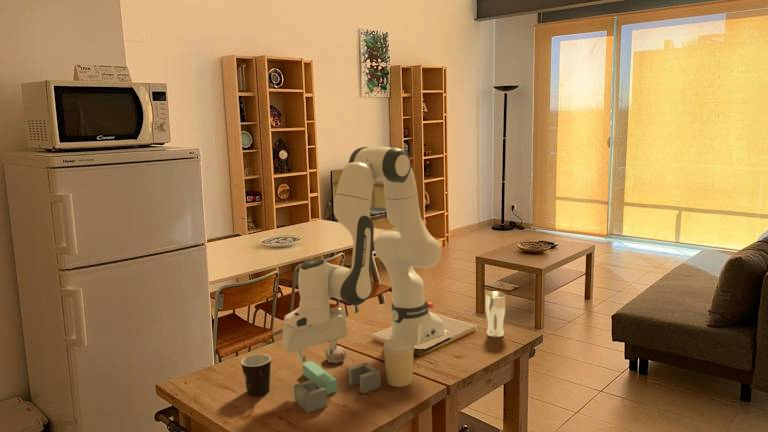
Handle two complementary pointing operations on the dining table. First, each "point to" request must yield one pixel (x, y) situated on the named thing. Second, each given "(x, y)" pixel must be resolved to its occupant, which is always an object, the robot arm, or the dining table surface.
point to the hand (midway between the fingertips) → (316, 357)
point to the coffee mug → (257, 374)
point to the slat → (319, 376)
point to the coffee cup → (399, 361)
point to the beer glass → (495, 313)
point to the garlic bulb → (336, 355)
